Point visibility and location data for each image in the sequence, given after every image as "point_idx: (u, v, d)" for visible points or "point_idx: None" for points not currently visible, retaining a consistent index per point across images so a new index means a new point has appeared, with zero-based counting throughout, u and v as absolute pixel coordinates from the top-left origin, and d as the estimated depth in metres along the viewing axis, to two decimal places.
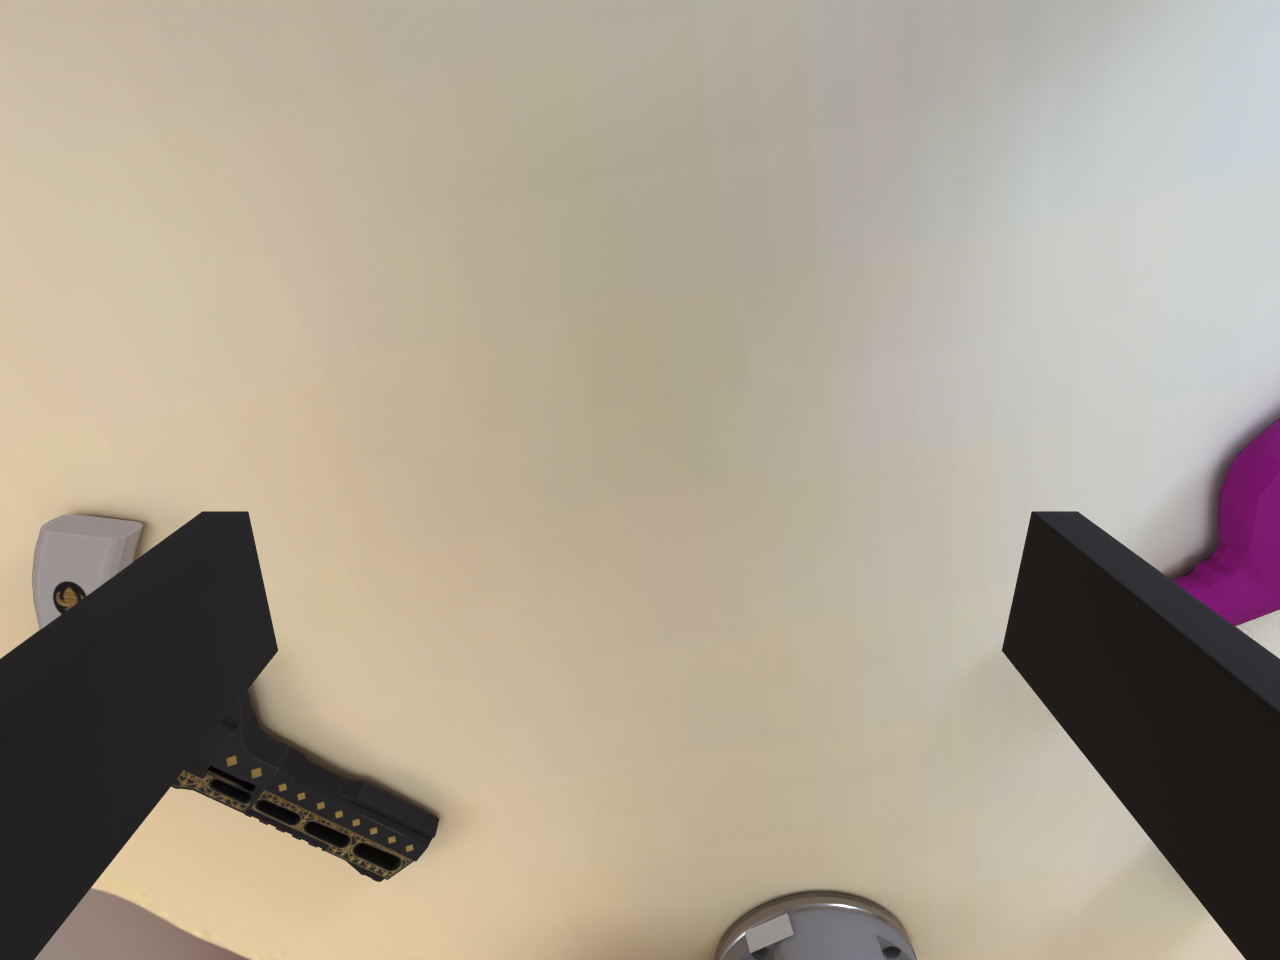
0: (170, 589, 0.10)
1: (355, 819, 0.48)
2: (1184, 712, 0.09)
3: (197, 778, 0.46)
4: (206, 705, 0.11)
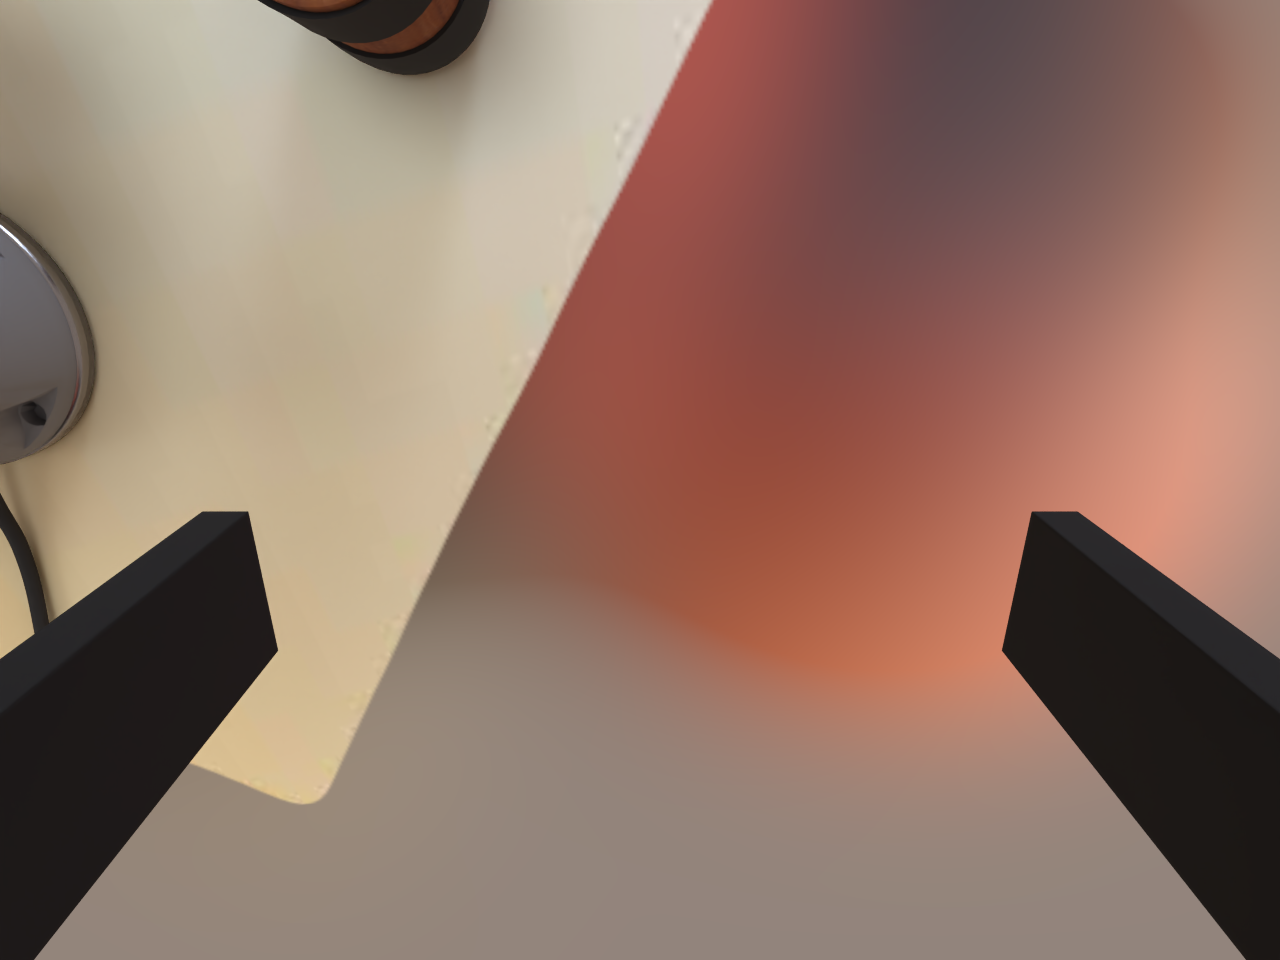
0: (171, 589, 0.10)
1: None
2: (1184, 712, 0.09)
3: None
4: (206, 705, 0.11)
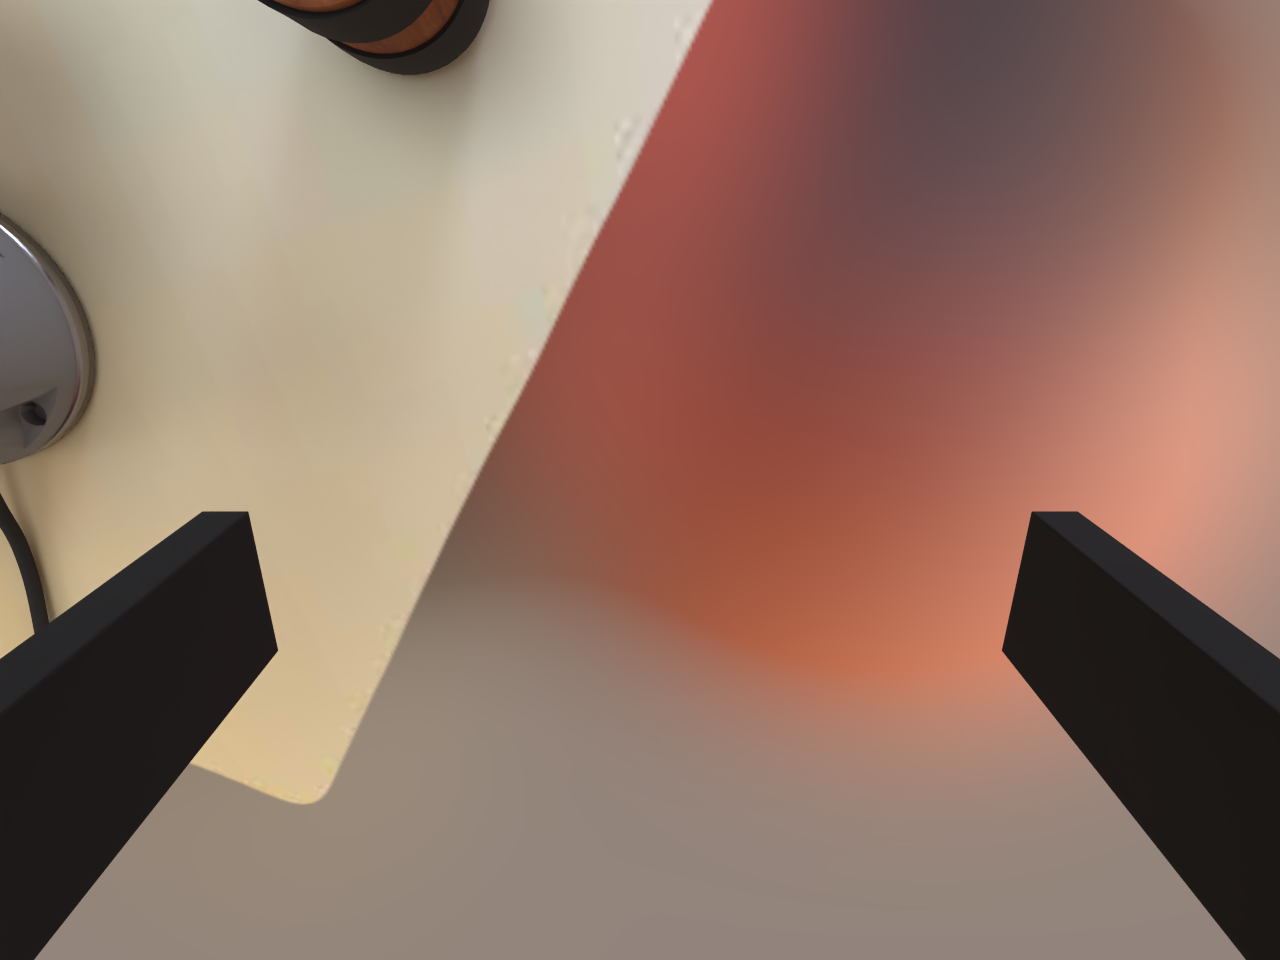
0: (171, 589, 0.10)
1: None
2: (1184, 712, 0.09)
3: None
4: (206, 705, 0.11)
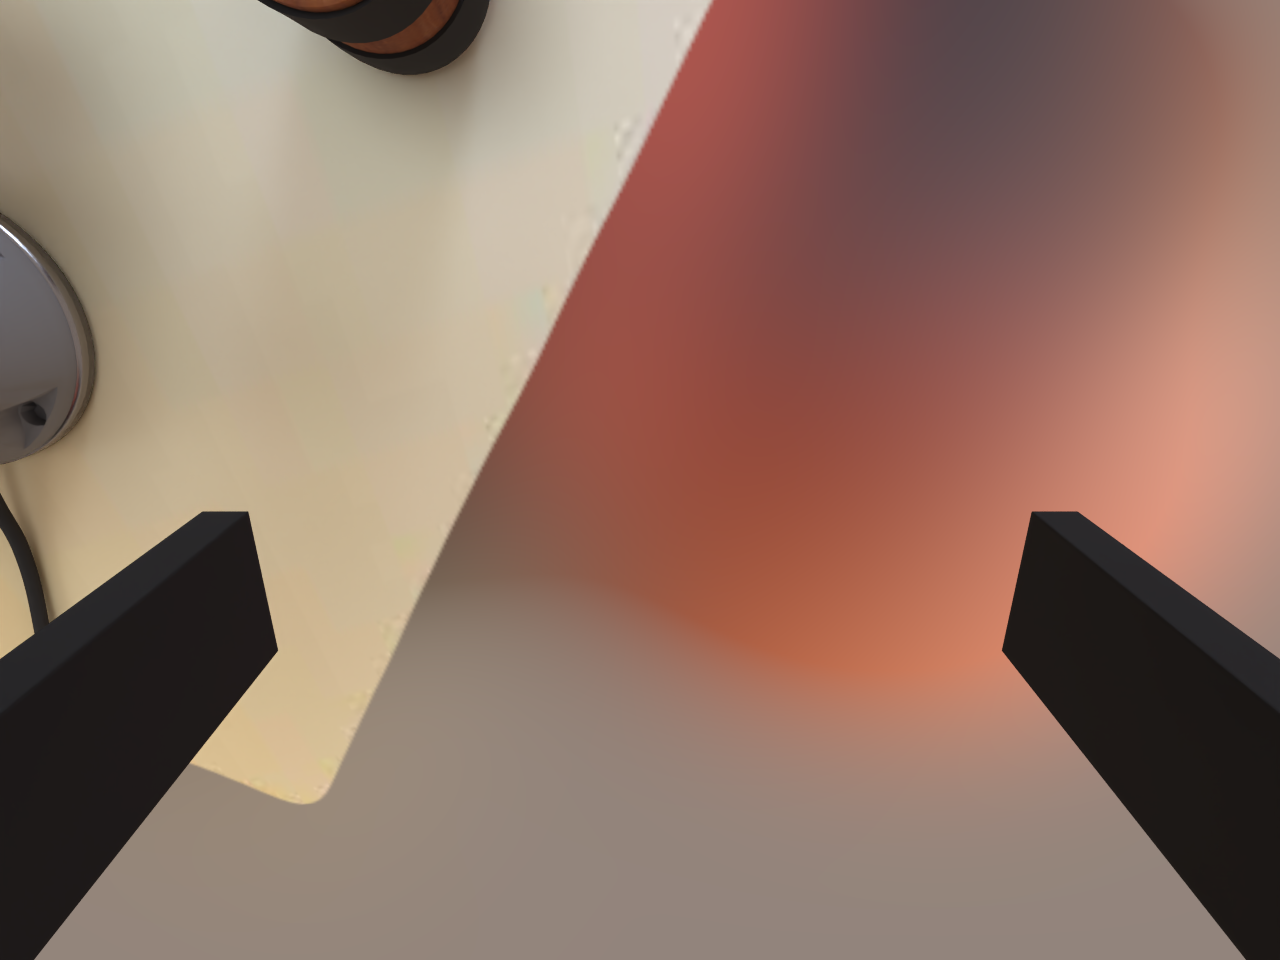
0: (171, 589, 0.10)
1: None
2: (1184, 712, 0.09)
3: None
4: (206, 705, 0.11)
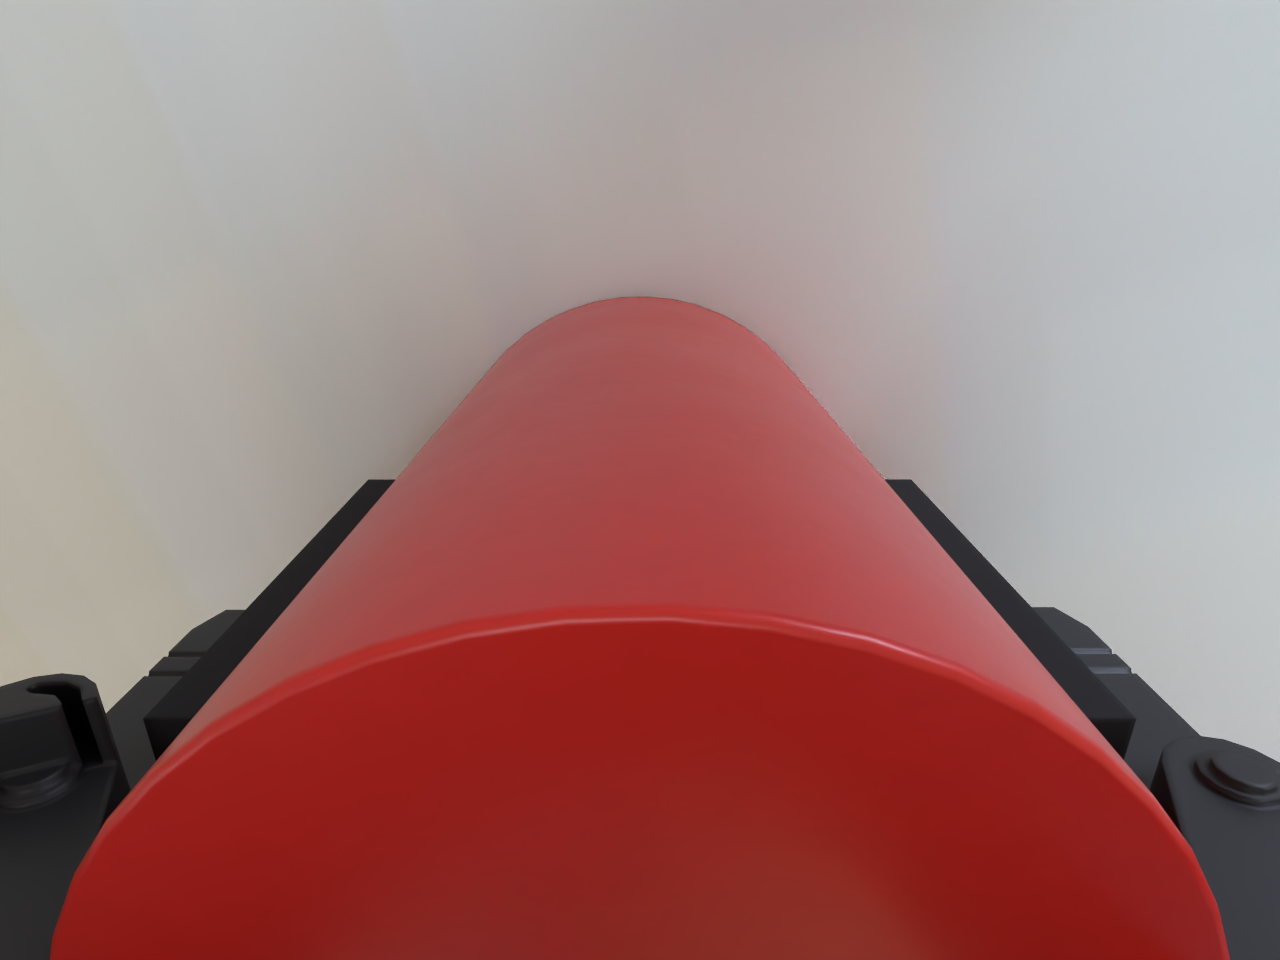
0: None
1: None
2: None
3: None
4: None
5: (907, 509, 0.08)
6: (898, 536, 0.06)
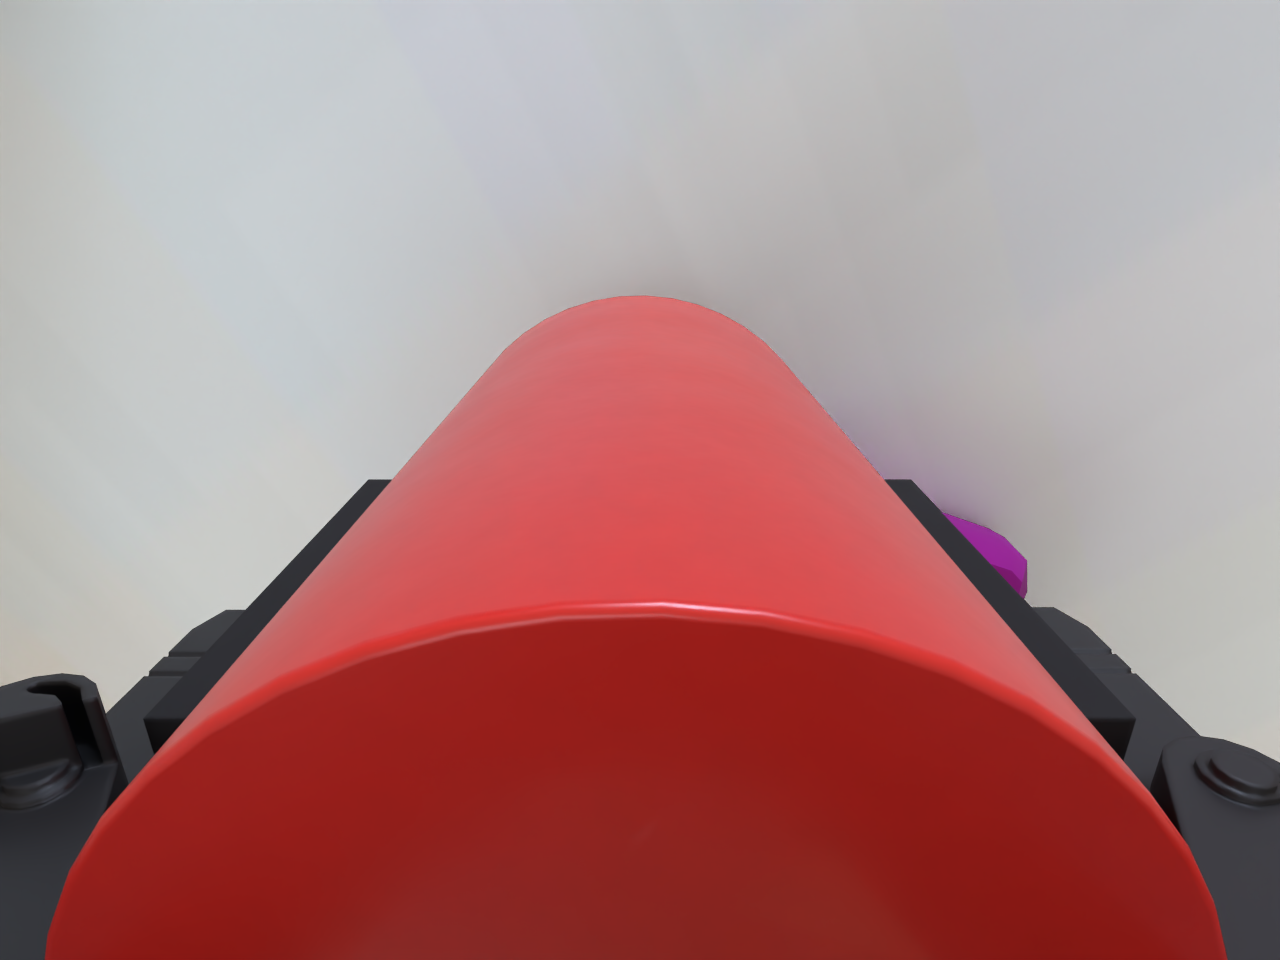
0: None
1: None
2: None
3: None
4: None
5: (905, 507, 0.08)
6: (895, 533, 0.06)
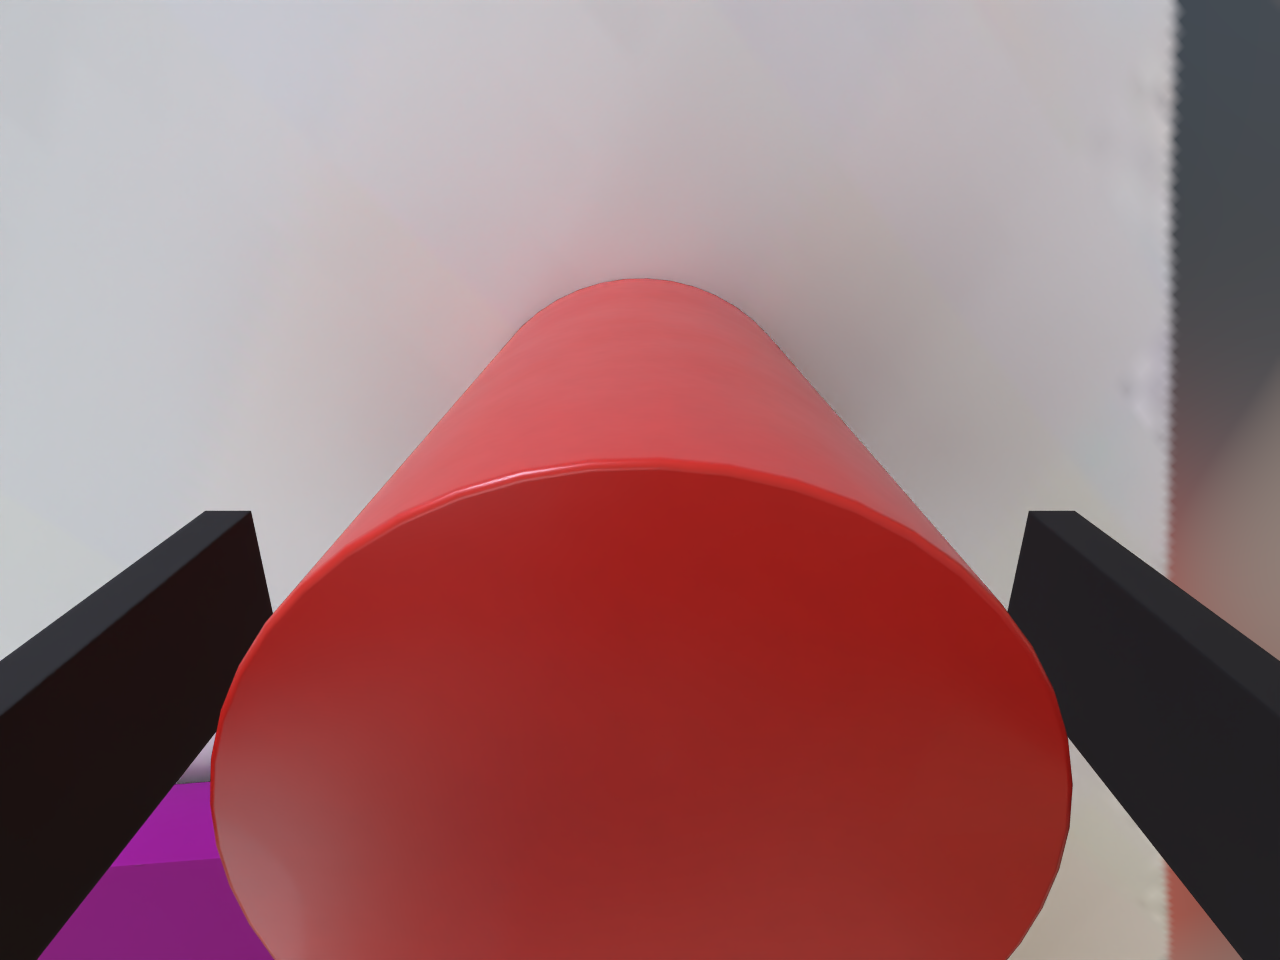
0: (174, 588, 0.10)
1: None
2: (1180, 710, 0.09)
3: None
4: (210, 704, 0.11)
5: (857, 440, 0.10)
6: (837, 443, 0.08)
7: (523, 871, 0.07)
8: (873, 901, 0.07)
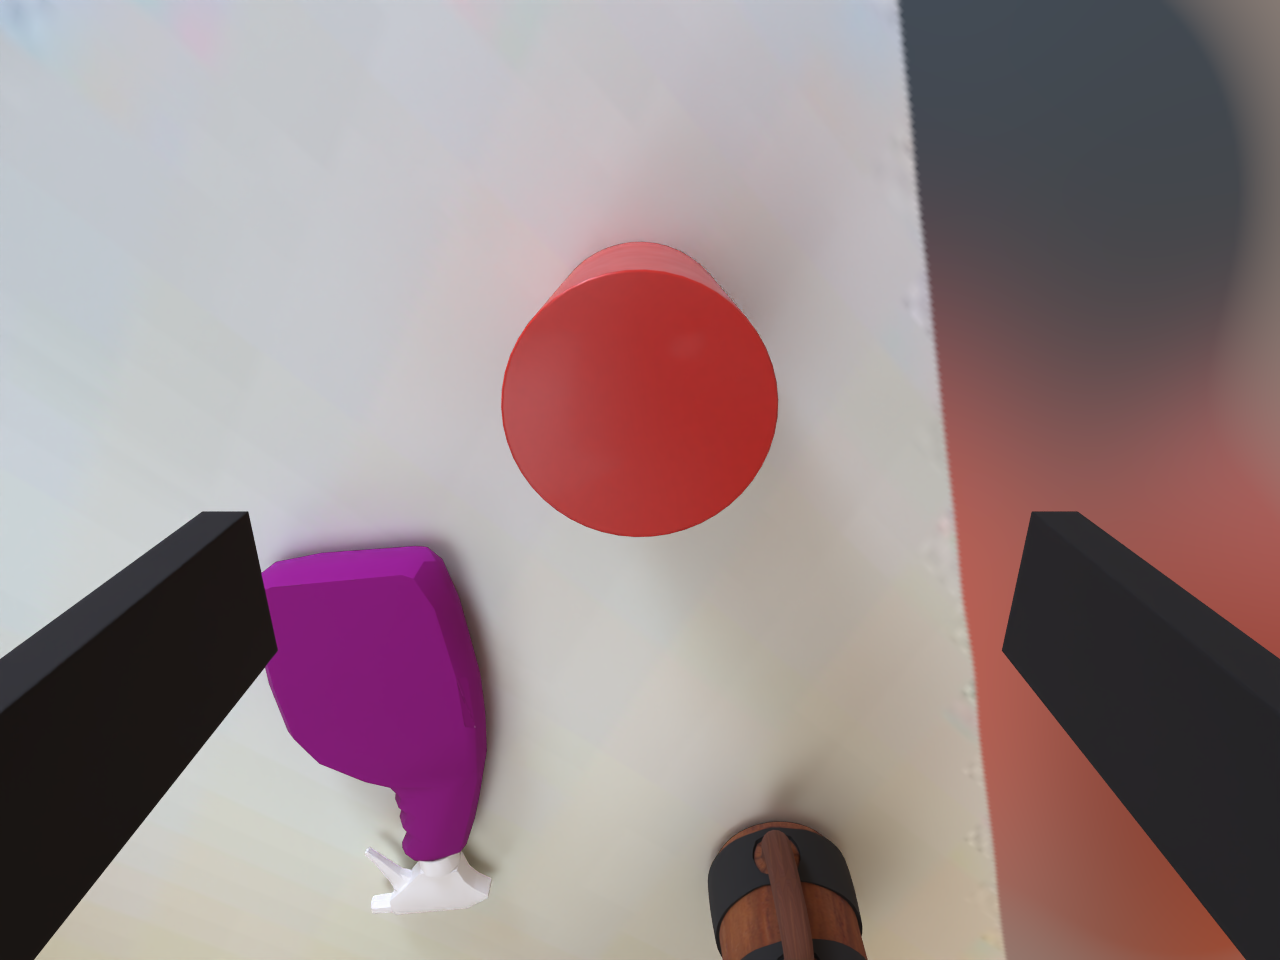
0: (170, 589, 0.10)
1: None
2: (1184, 712, 0.09)
3: None
4: (206, 705, 0.11)
5: None
6: (706, 281, 0.23)
7: (601, 418, 0.22)
8: (717, 431, 0.22)
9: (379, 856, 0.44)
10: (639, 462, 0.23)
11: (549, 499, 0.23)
